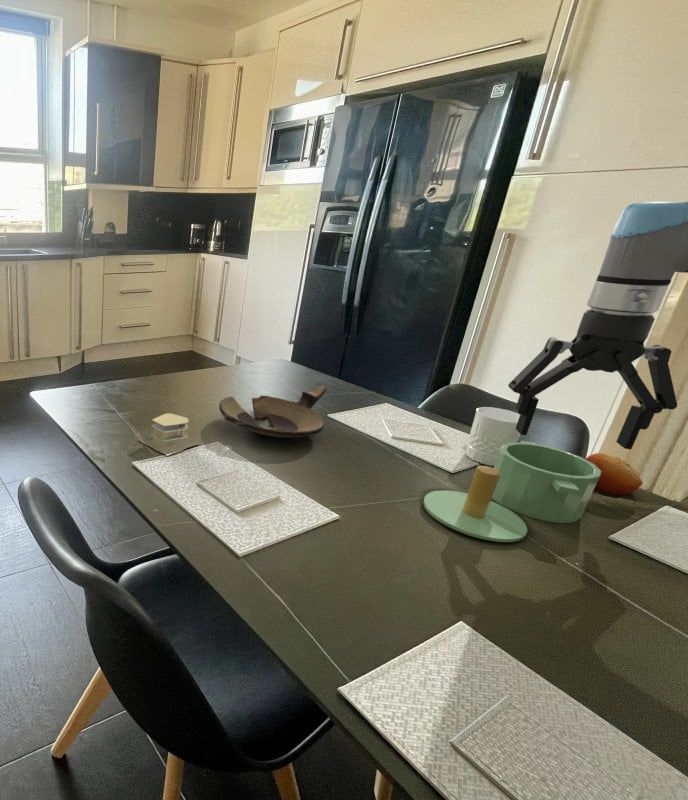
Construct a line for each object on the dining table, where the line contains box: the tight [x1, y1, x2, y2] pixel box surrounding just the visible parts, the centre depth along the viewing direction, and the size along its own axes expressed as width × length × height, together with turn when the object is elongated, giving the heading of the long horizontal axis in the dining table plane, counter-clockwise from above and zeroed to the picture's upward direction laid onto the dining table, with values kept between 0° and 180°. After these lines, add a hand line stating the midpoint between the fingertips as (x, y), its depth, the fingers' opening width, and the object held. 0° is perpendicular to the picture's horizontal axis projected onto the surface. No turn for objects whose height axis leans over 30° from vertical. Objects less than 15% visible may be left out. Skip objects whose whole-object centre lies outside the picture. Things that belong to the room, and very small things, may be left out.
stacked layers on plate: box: [150, 412, 190, 448], centre depth 104 cm, size 10×9×6 cm
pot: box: [491, 440, 601, 524], centre depth 84 cm, size 13×18×8 cm
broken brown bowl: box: [218, 385, 328, 438], centre depth 111 cm, size 22×30×8 cm
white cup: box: [465, 406, 522, 467], centre depth 98 cm, size 8×8×10 cm
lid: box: [422, 465, 528, 543], centre depth 78 cm, size 14×14×9 cm
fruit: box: [584, 452, 644, 499], centre depth 88 cm, size 8×8×8 cm
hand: (570, 438), depth 81 cm, fingers open, 13 cm apart
